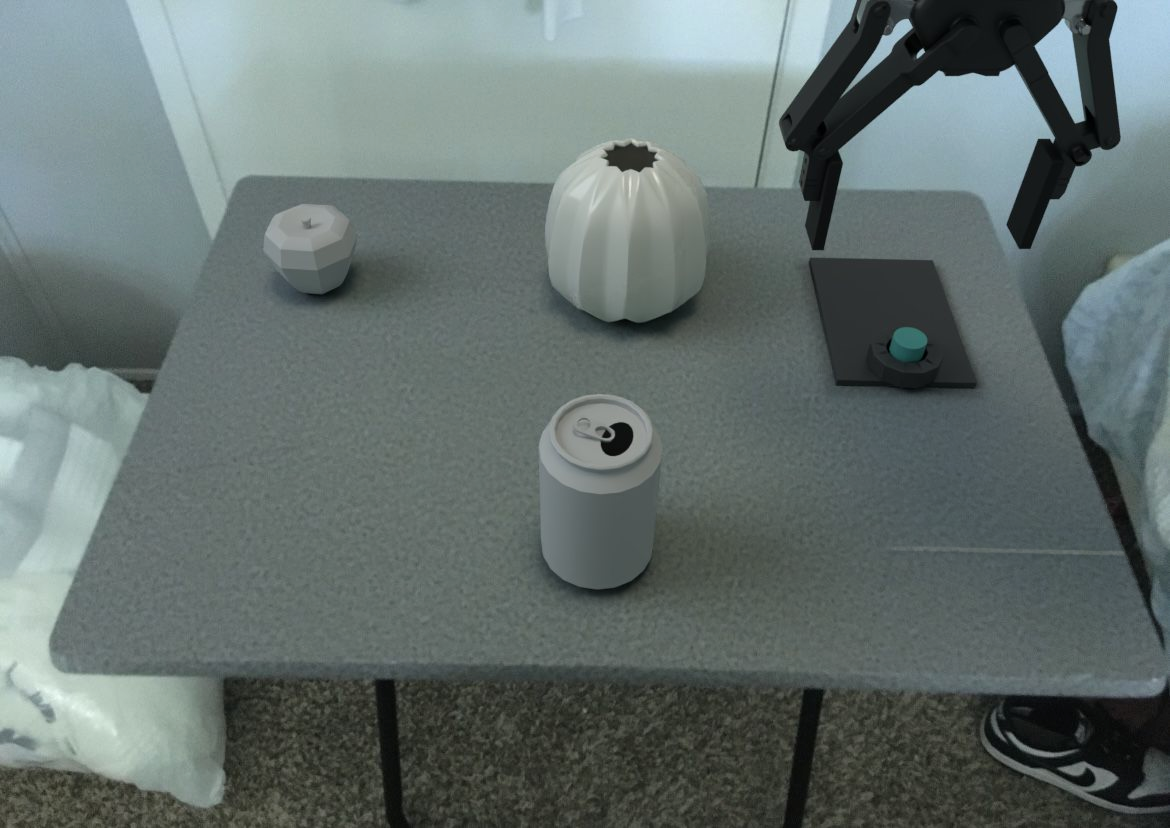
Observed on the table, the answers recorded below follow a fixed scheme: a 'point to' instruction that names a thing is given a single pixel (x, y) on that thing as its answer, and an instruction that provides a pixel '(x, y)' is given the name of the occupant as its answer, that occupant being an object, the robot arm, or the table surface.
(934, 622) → the table surface
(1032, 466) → the table surface
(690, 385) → the table surface
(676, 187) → the vase
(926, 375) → the scale
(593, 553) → the can
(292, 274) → the apple
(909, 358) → the button
